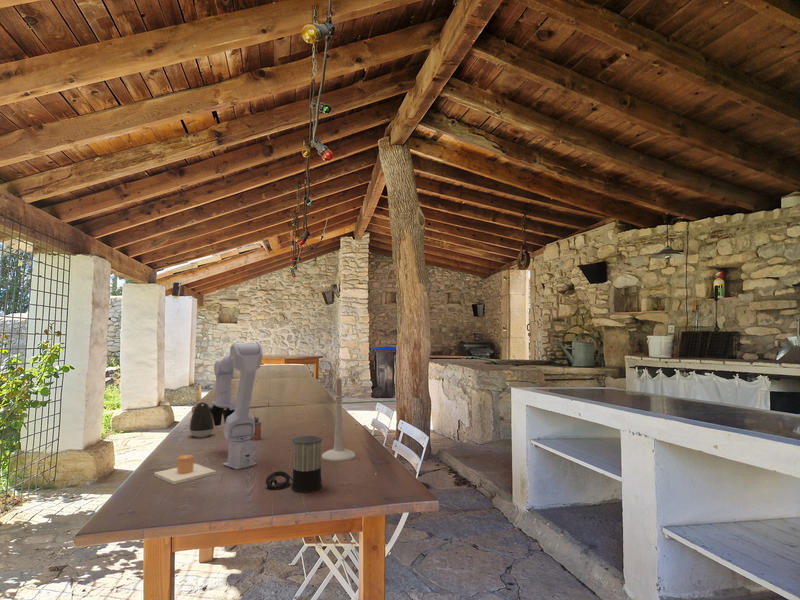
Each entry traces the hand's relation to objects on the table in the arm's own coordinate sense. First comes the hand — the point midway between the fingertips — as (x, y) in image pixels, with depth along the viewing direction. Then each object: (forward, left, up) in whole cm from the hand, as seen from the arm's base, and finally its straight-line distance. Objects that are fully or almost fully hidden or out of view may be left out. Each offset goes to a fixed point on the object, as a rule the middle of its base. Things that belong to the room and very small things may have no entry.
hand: (222, 426), depth 186 cm
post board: (-15, +22, -10) cm, 29 cm away
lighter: (+12, -21, -11) cm, 26 cm away
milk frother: (-53, +7, -11) cm, 54 cm away
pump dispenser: (+35, -10, -11) cm, 38 cm away
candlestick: (-38, -26, -11) cm, 47 cm away
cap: (-15, +22, -9) cm, 28 cm away
